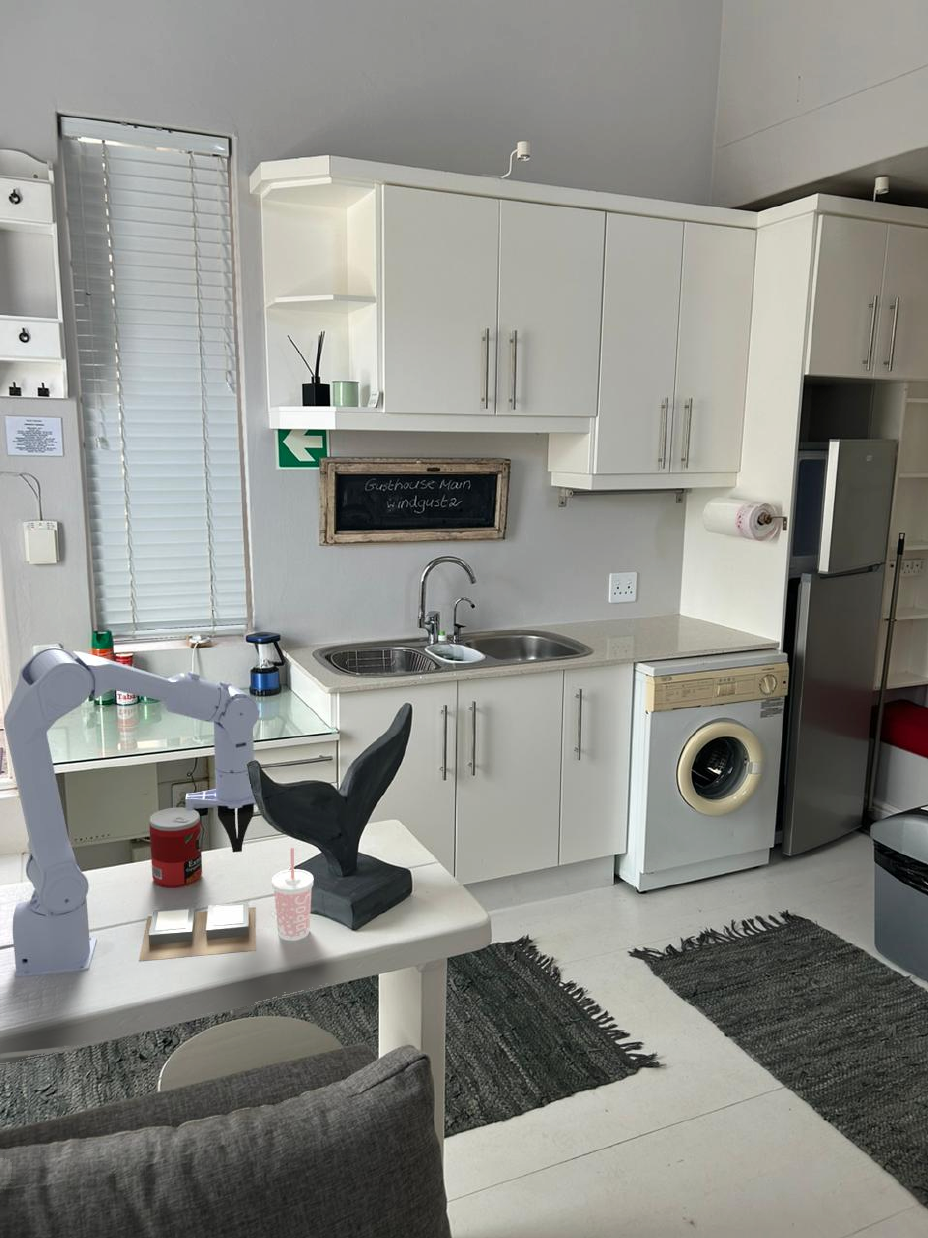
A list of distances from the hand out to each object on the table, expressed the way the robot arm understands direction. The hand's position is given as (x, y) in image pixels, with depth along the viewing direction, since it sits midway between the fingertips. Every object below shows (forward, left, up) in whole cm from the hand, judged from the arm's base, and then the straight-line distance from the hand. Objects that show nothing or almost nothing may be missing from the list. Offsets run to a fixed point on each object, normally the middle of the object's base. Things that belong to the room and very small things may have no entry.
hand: (237, 849), depth 148 cm
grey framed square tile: (-9, -9, -9) cm, 16 cm away
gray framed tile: (-1, -9, -9) cm, 13 cm away
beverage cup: (+8, -9, -10) cm, 16 cm away
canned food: (-10, +11, -10) cm, 18 cm away
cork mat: (-5, -7, -10) cm, 13 cm away
